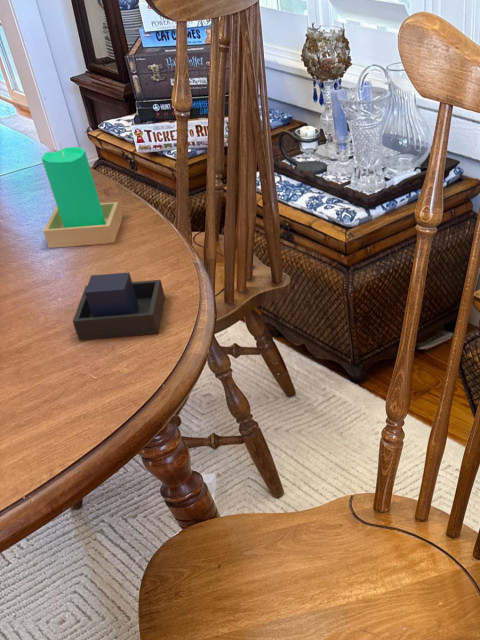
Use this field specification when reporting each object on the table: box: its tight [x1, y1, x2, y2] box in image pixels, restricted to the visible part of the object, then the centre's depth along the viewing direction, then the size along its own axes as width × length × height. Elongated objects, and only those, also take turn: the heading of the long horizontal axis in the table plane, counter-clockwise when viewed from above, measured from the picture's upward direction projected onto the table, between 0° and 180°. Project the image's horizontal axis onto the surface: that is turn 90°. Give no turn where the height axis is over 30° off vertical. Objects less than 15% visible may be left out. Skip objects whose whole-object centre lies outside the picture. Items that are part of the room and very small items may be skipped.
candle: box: [41, 141, 106, 228], centre depth 111 cm, size 6×6×12 cm
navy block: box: [85, 271, 139, 317], centre depth 93 cm, size 4×4×4 cm
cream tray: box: [42, 201, 123, 249], centre depth 114 cm, size 9×9×2 cm
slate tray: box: [72, 279, 166, 341], centre depth 95 cm, size 9×9×2 cm
